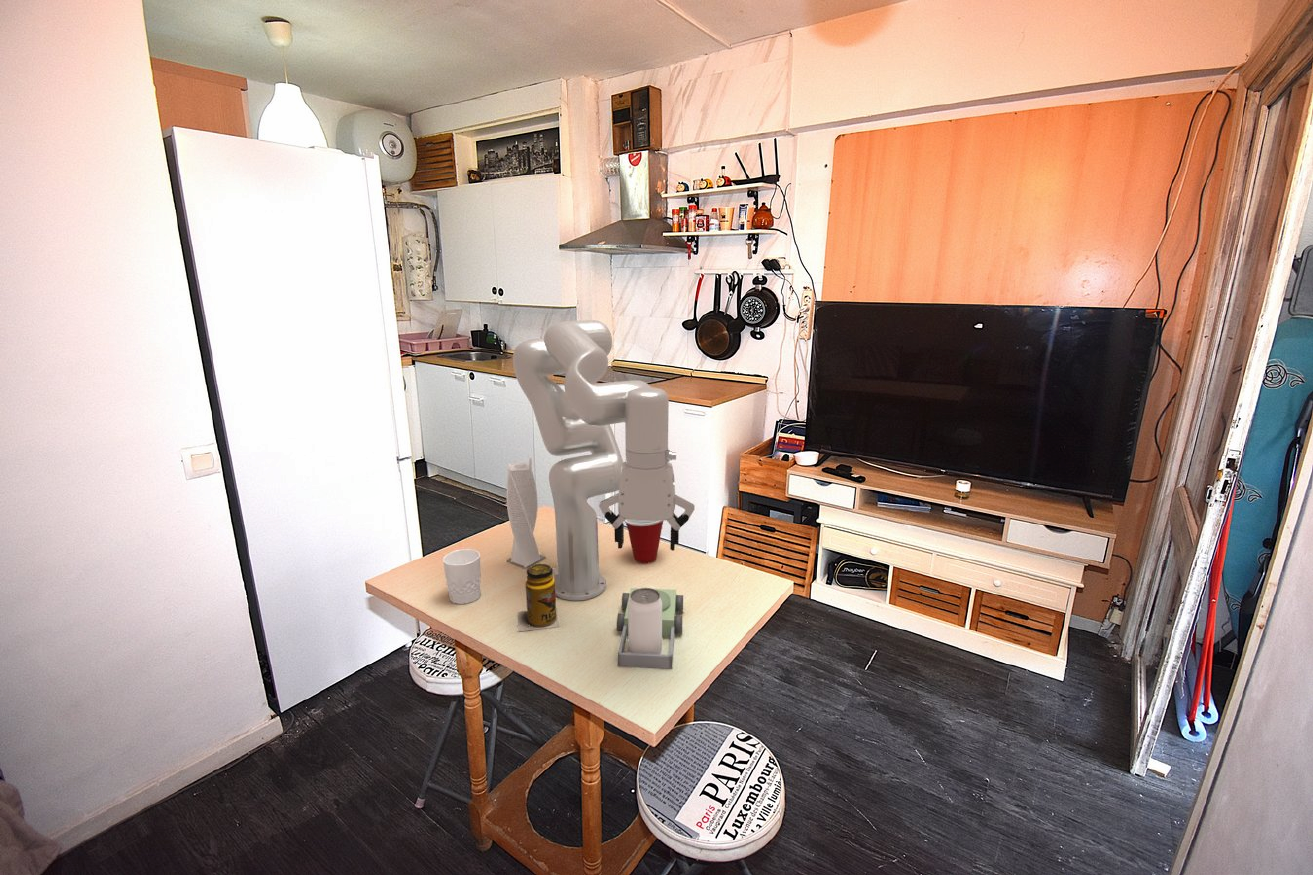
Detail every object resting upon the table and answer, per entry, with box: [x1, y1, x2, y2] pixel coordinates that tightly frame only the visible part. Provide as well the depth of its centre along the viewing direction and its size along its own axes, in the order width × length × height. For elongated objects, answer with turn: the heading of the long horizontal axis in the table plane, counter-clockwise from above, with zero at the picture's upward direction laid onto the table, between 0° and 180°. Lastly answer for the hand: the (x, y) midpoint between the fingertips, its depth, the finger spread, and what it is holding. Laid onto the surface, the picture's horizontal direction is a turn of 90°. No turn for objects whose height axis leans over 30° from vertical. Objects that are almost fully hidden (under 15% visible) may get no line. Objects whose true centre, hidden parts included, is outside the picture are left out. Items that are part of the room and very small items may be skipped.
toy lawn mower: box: [616, 587, 684, 670], centre depth 117 cm, size 13×22×5 cm, turn 176°
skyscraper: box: [506, 457, 546, 569], centre depth 144 cm, size 8×8×28 cm
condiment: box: [517, 563, 560, 632], centre depth 121 cm, size 7×8×12 cm
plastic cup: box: [623, 519, 664, 564], centre depth 148 cm, size 11×11×12 cm
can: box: [627, 587, 663, 654], centre depth 111 cm, size 6×6×12 cm
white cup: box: [442, 548, 482, 605], centre depth 130 cm, size 8×8×10 cm
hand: (646, 546), depth 106 cm, fingers open, 9 cm apart
